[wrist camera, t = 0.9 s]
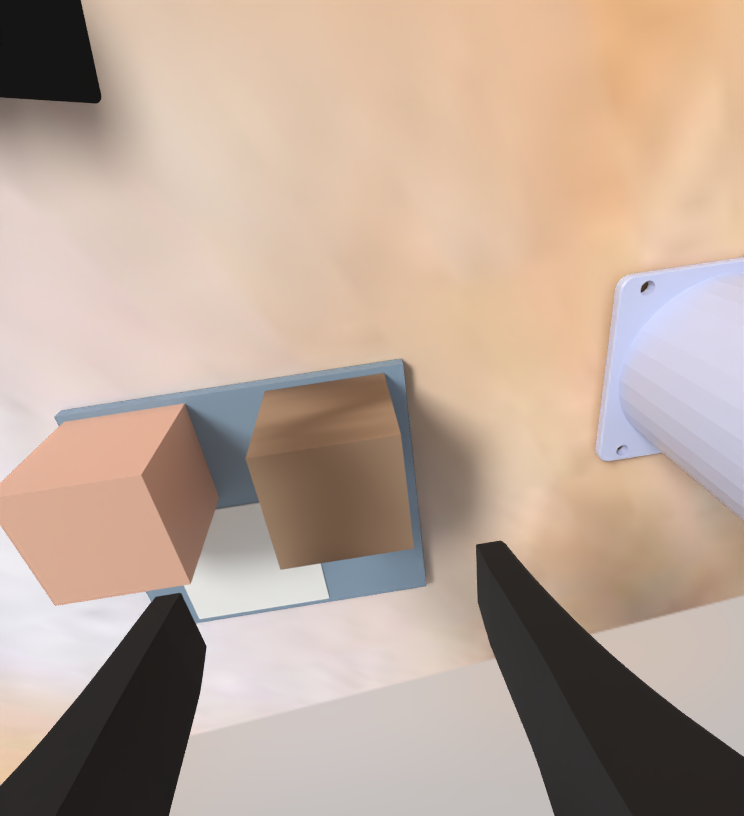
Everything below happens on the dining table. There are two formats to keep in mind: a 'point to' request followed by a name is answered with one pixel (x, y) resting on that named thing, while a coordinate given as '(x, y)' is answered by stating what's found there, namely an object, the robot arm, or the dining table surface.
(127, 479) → the terracotta block
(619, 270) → the dining table surface
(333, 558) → the walnut block
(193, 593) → the plate
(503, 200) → the dining table surface
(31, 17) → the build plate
